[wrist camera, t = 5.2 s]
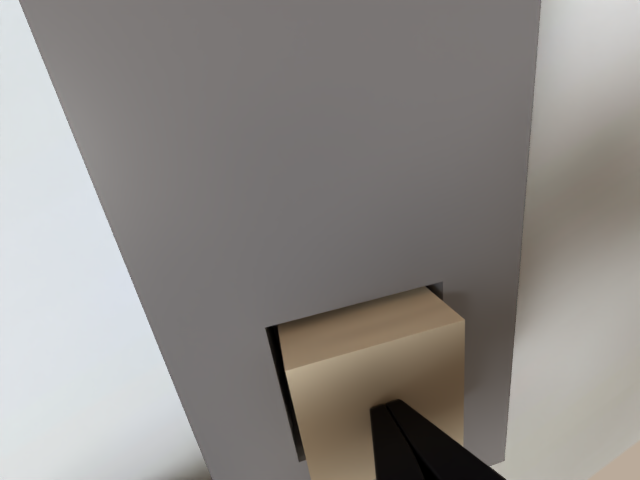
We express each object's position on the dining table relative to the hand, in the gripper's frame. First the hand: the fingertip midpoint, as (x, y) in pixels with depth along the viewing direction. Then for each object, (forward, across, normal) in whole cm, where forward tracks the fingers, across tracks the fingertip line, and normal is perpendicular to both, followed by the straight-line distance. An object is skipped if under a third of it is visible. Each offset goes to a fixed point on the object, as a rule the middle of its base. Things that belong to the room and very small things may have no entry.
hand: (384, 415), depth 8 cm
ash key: (+4, 0, 0) cm, 4 cm away
